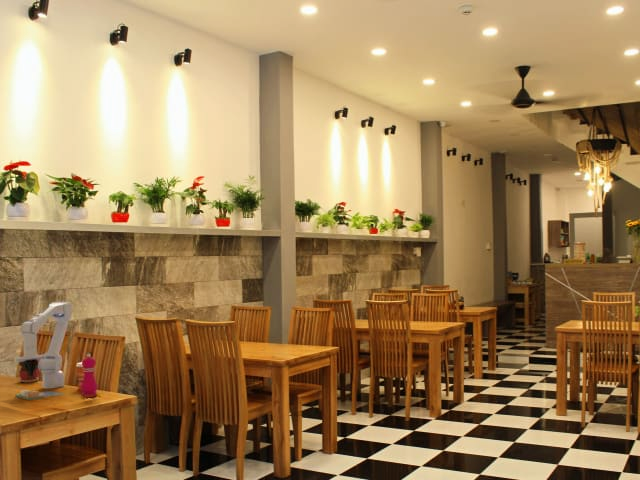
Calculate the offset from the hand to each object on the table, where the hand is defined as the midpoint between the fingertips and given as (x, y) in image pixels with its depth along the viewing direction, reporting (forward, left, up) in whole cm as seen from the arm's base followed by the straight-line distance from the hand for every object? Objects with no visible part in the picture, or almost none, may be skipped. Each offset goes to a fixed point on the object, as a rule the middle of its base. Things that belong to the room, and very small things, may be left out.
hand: (30, 376), depth 326 cm
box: (+5, +10, -9) cm, 15 cm away
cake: (-19, -43, -10) cm, 48 cm away
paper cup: (-21, +12, -10) cm, 26 cm away
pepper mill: (-15, +27, -10) cm, 32 cm away
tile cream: (+4, +7, -7) cm, 11 cm away
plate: (-3, +10, -9) cm, 14 cm away
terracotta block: (+3, +13, -7) cm, 15 cm away
